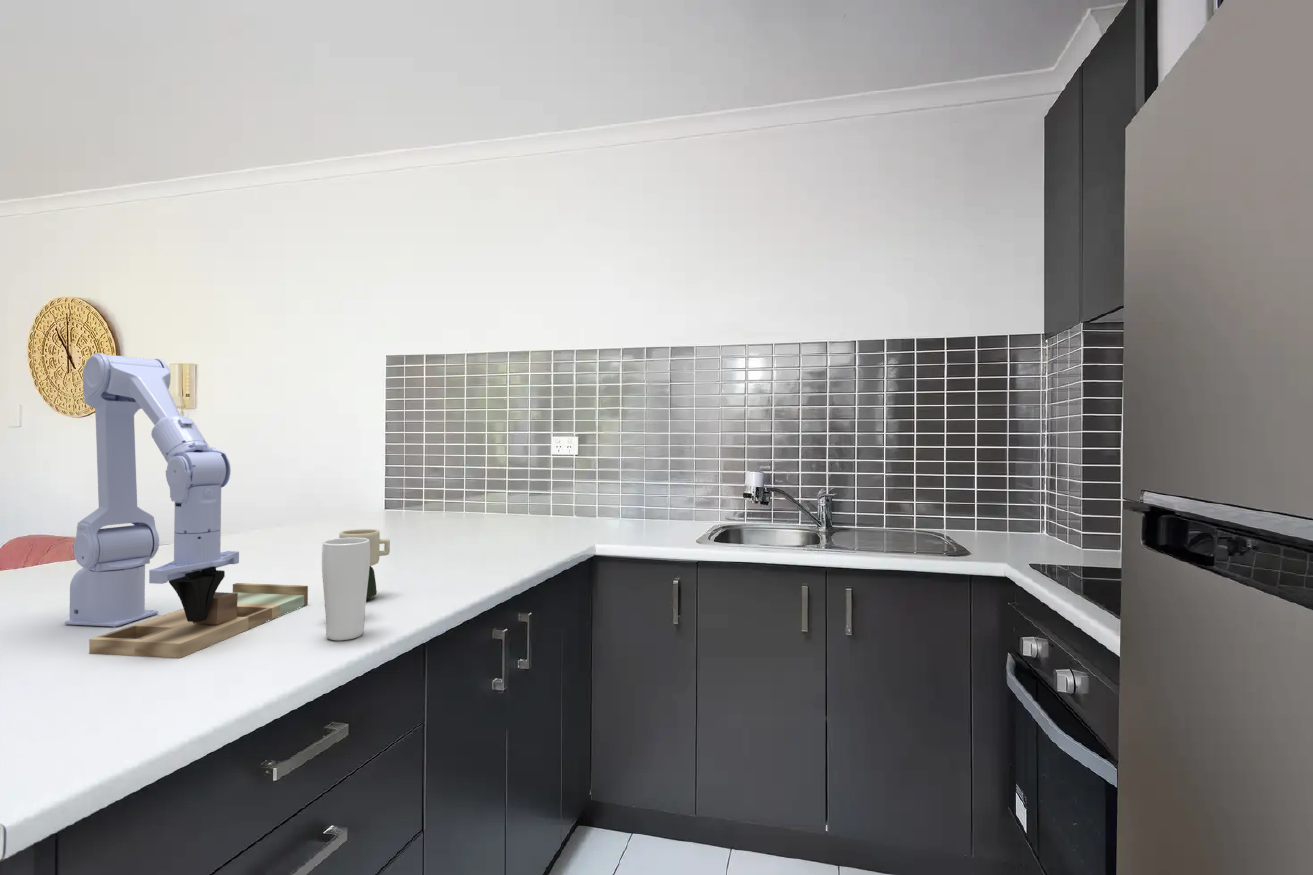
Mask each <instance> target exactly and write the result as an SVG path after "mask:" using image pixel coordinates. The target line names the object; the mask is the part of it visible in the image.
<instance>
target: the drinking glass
mask: <svg viewBox="0 0 1313 875" xmlns="http://www.w3.org/2000/svg"><path fill="white" fill-rule="evenodd" d="M321 551H322V552H321V573H322V574H321V578H322V584H323V585H322V587H323V600H324V601H323V602H324V611H325V625H326V626H325V629H326V630H325V633H326V634H325V636H326V637H327V639H329V640H331V641H340V642H341V641H349V640H353V639H357V638H359V637H361V636H362V635H363V634H364V632H365V614H366V606H367V605H366V604H367V599H366V596H367V587H368V578H369V567H370V540H369V539H367V538H339V537H338V538H332V539H331V538H330V539H327V540H324V541H323V542H322V548H321Z"/></svg>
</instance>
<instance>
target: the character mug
mask: <svg viewBox="0 0 1313 875" xmlns="http://www.w3.org/2000/svg"><path fill="white" fill-rule="evenodd" d="M380 534H381V533H380V530H379V529H377V528H375V529H373V528H356V529H355V528H354V529H348V530H343V531H340V532H339V534H338V538H367V539H369V540H370V567H369V578H368V587H367V596H366V600H368V599H370V598H373V597H375V596H376V595H378V594H377V583H376V582H377V581H376V575H375V574H376V573H375V570H374V568H373V566H374V565H375V566H376V565H377V564H378V563H379V561H380V557H383V556H388V555H390V550H391V546H390V545H391V541H390V538H381V537H380ZM382 544H384V550H380V545H382Z"/></svg>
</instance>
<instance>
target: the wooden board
mask: <svg viewBox="0 0 1313 875" xmlns="http://www.w3.org/2000/svg"><path fill="white" fill-rule="evenodd" d="M231 593H238V600H237V618H236V619H233V620H230V621H227V622H224V623H220V624H217V625H215V624H195V623H193V622H188V621H187V618H186V615H185V611H184V608H181V609H178V610H175V611H172V612H168V613H166V614H163V615H160V616H155V617H153V618H149V619H147V620H144V621H142V622H138V623H135V624H132V625H130V626H126V627H122V628H121V629H117V630H114V631H111V632H108V633H104V634H102V635H98V636H95V637H92V638H90V639H89V640H88V642H89V643H88V644H89V647H88V650H89V651H88V654H94V655H95V654H96V655H114V656H131V657H132V656H134V657H135V656H137V657H155V658H172V659H173V658H174V659H175V658H176V659H178V658H179V659H181V658H184V657H186V656H189V655H191V654H194V653H196V652H199V651H200V650H202V649H203V650H204V649H206V648H208V647H210V646H212V645H215V644H217V643H220V642H222V641H224V640H227V639H229V638H232V637H234V636H237V635H239V634H241V633H243V632H246V631H248V629H249V630H251V629H253V628H256V627H257V625H258V626H260V625H262V624H261V623H263V624H265V623H267V622H266V621H268V620H270V621H273V620H274V618H275V619H277V618H279V617H278V616H280V615H282V614H284V613H287V612H289V613H292V612H294V611H296V610H298V609H297V608H299V607H301V608H303V607H304V606H303V605H306V604H309V603H308V601H309V597H308V596H309V586H308V585H300V584H299V585H298V584H297V585H296V584H295V585H294V584H276V583H275V584H274V583H273V584H271V583H269V584H267V583H246V582H245V583H244V582H243V583H242V582H235V583H233V584H232V592H231ZM302 606H303V607H302ZM306 606H307V605H306ZM295 609H296V610H295ZM299 609H300V608H299ZM293 610H294V611H293ZM291 611H292V612H291ZM287 614H288V613H287ZM284 615H285V614H284ZM282 616H283V615H282ZM276 617H277V618H276ZM280 617H281V616H280ZM264 622H265V623H264ZM268 622H269V621H268ZM250 628H251V629H250ZM231 636H232V637H231Z"/></svg>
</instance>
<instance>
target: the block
mask: <svg viewBox="0 0 1313 875" xmlns="http://www.w3.org/2000/svg"><path fill="white" fill-rule="evenodd" d="M237 600H238V593H232V592H224V591H223V592H221V591H220V592H219V591H216V592H215V594H214V596H213V599H212V602H211V605H210V608H209V611H208V615H207V618H206V620H204V621H201V622H193V623H195V624H215V625H217V624H220V623H224V622H227V621H230V620H233V619H236V618H237Z"/></svg>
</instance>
